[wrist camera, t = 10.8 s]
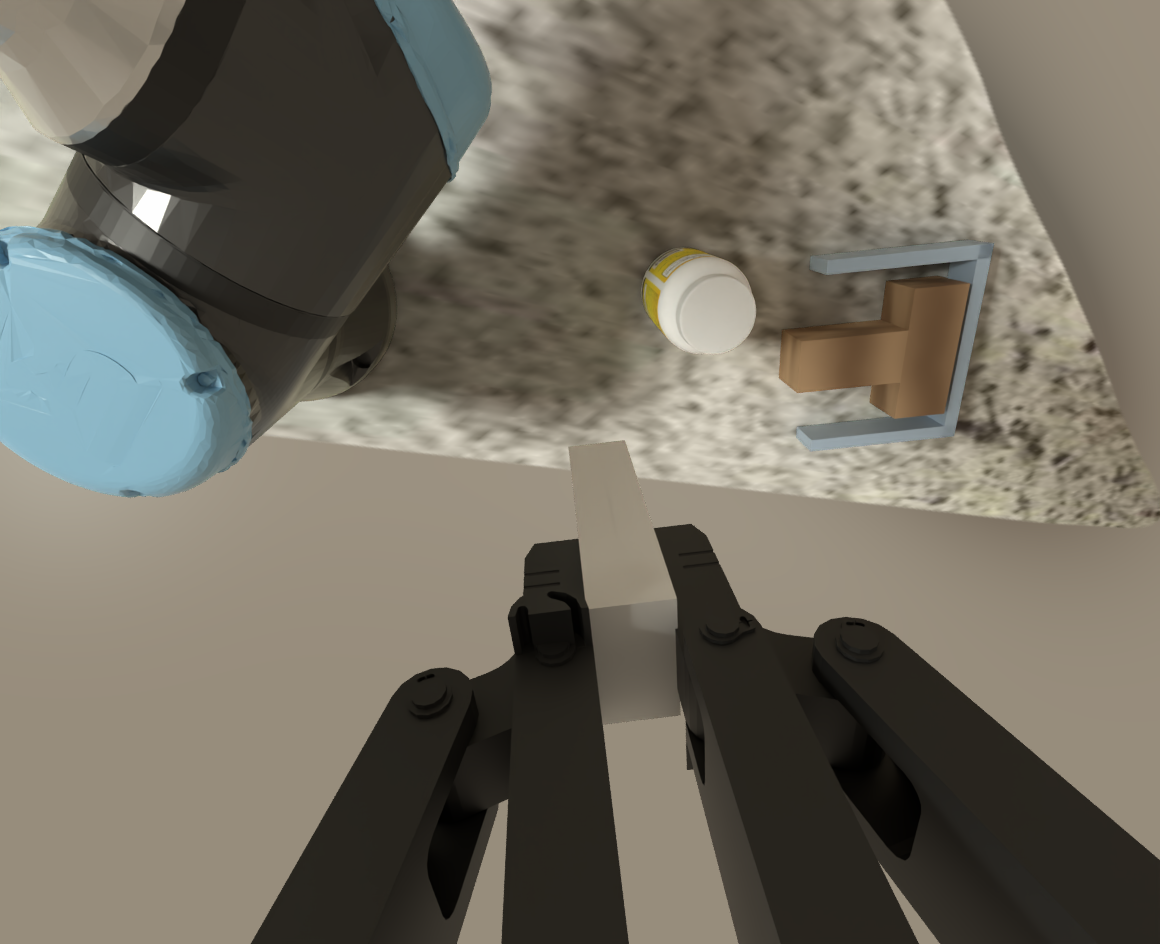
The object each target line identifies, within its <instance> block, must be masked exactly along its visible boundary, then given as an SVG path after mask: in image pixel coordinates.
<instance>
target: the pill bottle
mask: <svg viewBox="0 0 1160 944" xmlns="http://www.w3.org/2000/svg"><path fill="white" fill-rule="evenodd" d="M641 298H642V303H643V306H644V309H645V311H646V313H647V314H648V316H649V317H650V319H651V320H652V321H653V322H654V323H655V325H656V326H657V327H658V328H659V329H660V330H661V332H662V333H663V334H664V335H665V336H666V337H667V339H668V340H669V341H670V342H671V343H673V344H674V345H675V346H676V347H678V348H680V349H681V350H684V351H686V352H689V353H693V354H710V355H717V354H723V353H726V352H729V351H731V350H733V349H735V348H736V347H738V346H739V345H740V344H741V343H742V342H743V341H744V340H745V339H746V338H747V337H748V335H749V334H750V332H751V330H752V328H753V325H754V322H755V318H756V304H755V300H754V297H753V295H752V291H751V288H750V285H749V282H748V280H747V278H746V277H745V275H744V274H743V273H742V272H741V271H740V270H739V269H738V268H737V267H736V266H735V265H734V264H732V263H730V262H729V261H727V260H724V259H721V258H719V257H716V256H713V255H710V254H708V253H705V252H703V251H700V250H697V249H693V248H685V247H683V248H675V249H672V250H669V251H667V252H665V253H663V254H662V255H660V256H659V257H658V258H657V259H655V260H654V261H653V263H652V264H651V265H650V266H649V268H648V269H647V271H646V273H645V276H644V278H643V282H642V287H641Z"/></svg>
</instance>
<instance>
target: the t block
mask: <svg viewBox="0 0 1160 944" xmlns="http://www.w3.org/2000/svg"><path fill="white" fill-rule="evenodd" d="M969 287H970V283H967V282H962V281H958V280H953V279H949V278H945V277H940V276H929V277H920V278H910V279H900V280H890V281H886V286H885V293H884V300H883V308H882V315H881V320H873V321H863V322H853V323H843V324H833V325H824V326H814V327H804V328H794V329H784V330H782V337H781V352H780V368H779V378H780V379H781V380H782V381H783V382H784V383H786V384H787V385H788V386H789V387H791V388H792V389H793V390H794V391H796V392H797V393H803V392H813V391H822V390H832V389H842V388H851V387H861V386H871V385H872V387H871V395H870V403H871V404H873V405H874V406H876V407H877V408H879V409H880V410H882V411H883V412H885V413H886V414H888V415H889V416H891V417H892V418H894V419H897V418H907V417H916V416H926V415H936V414H944V412H945V407H946V402H947V397H948V392H949V387H950V382H951V377H952V372H953V367H954V362H955V357H956V352H957V347H958V342H959V337H960V332H961V327H962V322H963V317H964V312H965V307H966V302H967V297H968V292H969Z"/></svg>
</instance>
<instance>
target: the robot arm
mask: <svg viewBox="0 0 1160 944" xmlns="http://www.w3.org/2000/svg"><path fill="white" fill-rule="evenodd" d="M0 78H1V79H2V81H3V82H4V84H5V85H6V87H7V88H8V90H9V91H10V93H11V94H12V96H13V98H14V99H15V101H16V102H17V104H18V105H19V107H20V108H21V110H22V111H23V113H24V114H25V116H26V117H27V119H28V121H29V122H30V124H31V125H32V127H33V128H34V129H35V130H37V131H38V132H39V133H41V134H43V135H44V136H46V137H48V138H50V139H51V140H53V141H55V142H57V143H60V144H62V145H64V146H66V147H69V148H71V149H73V150H75V151H76V153H75V155H74V157H73V160H72V162H71V164H70V166H69V168H68V170H67V172H66V174H65V176H64V178H63V180H62V182H61V184H60V186H59V188H58V190H57V192H56V194H55V196H54V198H53V200H52V202H51V204H50V207H49V209H48V211H47V213H46V215H45V217H44V218H43V220H42V221H41V223H40V224H39V225H38V226H37V227H30V226H19V227H7V228H4V229H2V230H0V442H1V443H3V444H4V445H5V446H7V447H8V448H9V449H11V450H12V451H13V452H15V453H16V454H17V455H19V456H21V457H22V458H23V459H25V460H26V461H28V462H30V463H31V464H33V465H34V466H36V467H38V468H40V469H41V470H43V471H45V472H47V473H49V474H51V475H53V476H55V477H57V478H60V479H62V480H64V481H66V482H69V483H71V484H74V485H77V486H80V487H83V488H86V489H89V490H92V491H95V492H100V493H103V494H109V495H115V496H122V497H137V496H145V497H146V496H153V497H164V496H169V495H174V494H177V493H181V492H184V491H187V490H189V489H192V488H194V487H196V486H198V485H200V484H202V483H203V482H205V481H206V480H208V479H209V478H211V477H212V476H213V475H215V474H216V473H219V472H224V471H226V470H228V469H229V468H230V466H232V465H235V464H236V463H237V462H238V461H239V460H240V459H241V458H242V457H243V455H244V454H245V452H246V450H247V448H248V447H249V446H250V445H251V444H252V443H253V442H255V441H256V440H257V439H258V438H259V437H260V436H261V435H263V434H264V433H265V432H266V431H267V430H268V429H269V428H270V427H272V426H273V425H274V424H275V423H276V422H277V421H278V420H279V419H281V418H282V417H283V416H284V415H285V414H286V413H287V412H288V411H290V410H291V409H292V408H293V407H294V406H295V405H296V404H298V403H299V402H302V401H314V400H320V399H325V398H328V397H332V396H335V395H337V394H340V393H342V392H344V391H346V390H348V389H350V388H351V387H353V386H355V385H356V384H357V383H359V382H360V381H361V380H362V379H364V378H365V377H366V376H367V375H368V374H369V373H370V372H371V371H372V369H373V368H374V367H375V366H376V365H377V364H378V363H379V362H380V360H381V359H382V357H383V356H384V354H385V352H386V351H387V349H388V347H389V344H390V342H391V339H392V336H393V333H394V329H395V324H396V313H397V304H396V293H395V288H394V283H393V280H392V276H391V273H390V270H389V268H388V263H389V262H390V260H391V259H392V258H393V256H394V255H395V254H396V252H397V251H398V249H399V248H400V247H401V245H402V244H403V242H404V241H405V240H406V238H407V237H408V235H409V234H410V233H411V231H412V230H413V228H414V227H415V226H416V224H417V223H418V222H419V220H420V219H421V217H422V216H423V215H424V213H425V212H426V210H427V209H428V208H429V206H430V205H431V203H432V202H433V201H434V199H435V198H436V196H437V195H438V194H439V192H440V191H441V190H442V188H443V187H444V185H445V184H446V183H448V182H451V181H452V180H453V179H454V178H455V177H456V172H457V171H458V169H459V161H460V160H461V158H462V157H463V155H464V154H465V152H466V150H467V149H468V147H469V146H470V144H471V143H472V141H473V139H474V138H475V136H476V135H477V133H478V132H479V130H480V129H481V127H482V125H483V124H484V122H485V121H486V119H487V116H488V113H489V110H490V105H491V93H492V83H491V77H490V73H489V70H488V66H487V63H486V61H485V58H484V56H483V54H482V51H481V49H480V47H479V45H478V43H477V41H476V40H475V38H474V36H473V34H472V32H471V30H470V29H469V27H468V25H467V24H466V22H465V20H464V18H463V17H462V15H461V14H460V12H459V10H458V9H457V7H456V6H455V4H454V2H453V1H452V0H0ZM569 456H570V465H571V473H572V483H573V492H574V502H575V511H576V519H577V529H578V538H579V539H572V540H564V541H556V542H548V543H539V544H534V546H533V547H532V548H531V550H530V551H529V553H528V554H527V556H526V558H525V567H524V592H523V596H522V597H520V598H519V599H518V600H517V601H516V602H515V603H514V604H513V606H511V609H510V612H509V615H508V621H509V627H510V632H511V636H512V641H513V646H514V652H515V654H514V655H513V656H512V657H511V658H510V659H509V660H508V661H507V662H506V663H504V664H503V665H502V666H500V667H499V668H497V669H495V670H493V671H491V672H488V673H486V674H484V675H481V676H478V677H476V678H473V679H470V680H469V678H468V677H467V676H466V675H464V674H463V673H462V672H461V671H459V670H455V669H451V668H435V669H429V670H427V671H424V672H422V673H419V674H416V675H414V676H413V677H412V678H410V679H409V680H407V681H406V682H404V683H403V684H402V685H401V686H400V687H399V688H398V690H397V691H396V692H395V693H394V695H393V696H392V697H391V699H390V701H389V703H388V705H387V707H386V708H385V710H384V712H383V713H382V715H381V717H380V718H379V720H378V722H377V724H376V725H375V727H374V729H373V731H372V733H371V734H370V736H369V738H368V740H367V741H366V743H365V745H364V747H363V748H362V750H361V752H360V754H359V755H358V757H357V759H356V761H355V762H354V764H353V766H352V768H351V769H350V771H349V773H348V775H347V776H346V778H345V780H344V782H343V783H342V785H341V787H340V789H339V790H338V792H337V794H336V796H335V797H334V799H333V801H332V803H331V804H330V806H329V808H328V810H327V811H326V813H325V815H324V817H323V818H322V820H321V822H320V824H319V826H318V827H317V829H316V831H315V833H314V834H313V836H312V838H311V839H310V841H309V843H308V845H307V846H306V848H305V850H304V852H303V853H302V855H301V857H300V859H299V860H298V862H297V864H296V866H295V867H294V869H293V871H292V873H291V874H290V876H289V878H288V880H287V881H286V883H285V885H284V887H283V888H282V890H281V892H280V894H279V895H278V897H277V899H276V901H275V902H274V904H273V906H272V908H271V909H270V911H269V913H268V915H267V917H266V918H265V920H264V922H263V923H262V925H261V927H260V929H259V930H258V932H257V934H256V936H255V938H254V939H253V941H252V943H251V944H457V941H458V938H459V935H460V931H461V928H462V925H463V921H464V918H465V915H466V912H467V908H468V905H469V902H470V899H471V895H472V892H473V889H474V886H475V882H476V879H477V876H478V873H479V869H480V866H481V863H482V860H483V856H484V853H485V850H486V846H487V843H488V840H489V837H490V834H491V830H492V827H493V824H494V821H495V817H496V814H497V811H498V804H499V803H500V802H502V801H504V800H507V799H508V818H507V839H506V840H507V841H506V860H505V881H504V903H503V924H502V944H629V941H628V933H627V925H626V916H625V908H624V900H623V891H622V883H621V876H620V875H621V874H620V866H619V858H618V850H617V841H616V833H615V825H614V817H613V808H612V799H611V791H610V782H609V774H608V766H607V757H606V749H605V742H604V732H603V724H612V723H620V722H629V721H636V720H645V719H654V718H662V717H669V716H678V715H680V701H681V705H682V708H683V712H684V716H685V719H686V752H687V770H691V769H694V773H695V777H696V781H697V785H698V788H699V792H700V796H701V800H702V804H703V808H704V811H705V816H706V819H707V823H708V827H709V831H710V835H711V839H712V842H713V846H714V850H715V854H716V858H717V862H718V866H719V870H720V873H721V877H722V881H723V885H724V889H725V893H726V896H727V900H728V904H729V908H730V912H731V916H732V920H733V924H734V927H735V931H736V935H737V939H738V943H739V944H919V943H918V941H917V939H916V937H915V935H914V933H913V931H912V929H911V927H910V925H909V923H908V921H907V919H906V917H905V915H904V913H903V911H902V909H901V907H900V905H899V903H898V901H897V899H896V897H895V895H894V893H893V891H892V889H891V887H890V885H889V883H888V880H887V879H886V876H885V874H884V872H883V871H882V868H881V866H880V864H881V865H882V867H883V868H884V869H885V871H886V872H887V873H888V875H889V876H890V877H891V879H892V880H893V881H894V883H895V884H896V885H897V887H898V888H899V889H900V891H901V892H902V893H903V895H904V896H905V897H906V899H907V900H908V901H909V903H910V904H911V905H912V907H913V908H914V909H915V911H916V912H917V913H918V915H919V916H920V917H921V919H922V920H923V921H924V923H925V924H926V925H927V927H928V928H929V929H930V931H931V932H932V933H933V935H934V936H935V937H936V939H937V940H938V941H939V943H940V944H1160V860H1159V859H1158V858H1157V857H1155V856H1154V855H1153V854H1152V853H1151V852H1150V851H1148V850H1147V849H1146V848H1145V847H1144V846H1143V845H1141V844H1140V843H1139V842H1138V841H1137V840H1135V839H1134V838H1133V837H1132V836H1131V835H1129V834H1128V833H1127V832H1126V831H1125V830H1124V829H1122V828H1121V827H1120V826H1119V825H1118V824H1117V823H1115V822H1114V821H1113V820H1112V819H1111V818H1110V817H1108V816H1107V815H1106V814H1105V813H1104V812H1103V811H1101V810H1100V809H1099V808H1098V807H1097V806H1095V805H1094V804H1093V803H1092V802H1091V801H1090V800H1088V799H1087V798H1086V797H1085V796H1084V795H1083V794H1081V793H1080V792H1079V791H1078V790H1077V789H1075V788H1074V787H1073V786H1072V785H1071V784H1070V783H1068V782H1067V781H1066V780H1065V779H1064V778H1063V777H1061V776H1060V775H1059V774H1058V773H1057V772H1055V771H1054V770H1053V769H1052V768H1051V767H1050V766H1048V765H1047V764H1046V763H1045V762H1044V761H1042V760H1041V759H1040V758H1039V757H1038V756H1037V755H1035V754H1034V753H1033V752H1032V751H1031V750H1030V749H1028V748H1027V747H1026V746H1025V745H1024V744H1023V743H1021V742H1020V741H1019V740H1018V739H1017V738H1015V737H1014V736H1013V735H1012V734H1011V733H1010V732H1008V731H1007V730H1006V729H1005V728H1004V727H1003V726H1001V725H1000V724H999V723H998V722H997V721H995V720H994V719H993V718H992V717H991V716H990V715H988V714H987V713H986V712H985V711H984V710H982V709H981V708H980V707H979V706H978V705H977V704H975V703H974V702H973V701H972V700H971V699H970V698H968V697H967V696H966V695H965V694H964V693H963V692H961V691H960V690H959V689H958V688H957V687H955V686H954V685H953V684H952V683H951V682H950V681H948V680H947V679H946V678H945V677H944V676H943V675H941V674H940V673H939V672H938V671H937V670H935V669H934V668H933V667H932V666H931V665H930V664H928V663H927V662H926V661H925V660H924V659H922V658H921V657H920V656H919V655H918V654H917V653H915V652H914V651H913V650H912V649H911V648H910V647H908V646H907V645H906V644H905V643H904V642H902V641H901V640H900V639H899V638H898V637H896V636H895V635H894V634H893V633H891V632H890V631H888V630H887V629H885V628H884V627H882V626H880V625H879V624H876V623H873V622H870V621H867V620H864V619H859V618H849V617H842V618H836V619H830V620H829V621H827V622H825V623H823V624H821V625H820V626H819V627H818V629H817V630H816V632H815V634H814V638H810V637H801V636H793V635H786V634H780V633H775V632H772V631H770V630H767V629H764V628H762V626H761V624H760V623H759V622H758V621H757V620H756V618H755V617H754V616H753V615H751V614H750V613H748V612H746V611H745V610H743V609H741V608H740V606H739V604H738V602H737V599H736V597H735V595H734V593H733V591H732V589H731V587H730V585H729V582H728V580H727V578H726V576H725V574H724V572H723V570H722V568H721V566H720V565H719V561H718V559H717V557H716V555H715V553H713V549H712V546H711V544H710V542H709V540H708V538H707V536H706V535H705V534H704V533H703V532H701V531H700V530H698V529H697V528H696V527H695V526H693V525H692V524H686V525H677V526H669V527H660V528H653V525H652V522H651V519H650V515H649V512H648V509H647V506H646V503H645V501H644V497H643V494H642V491H641V488H640V485H639V482H638V479H637V476H636V473H635V470H634V467H633V464H632V461H631V458H630V455H629V452H628V449H627V446H626V443H625V440H623V441H614V442H606V443H597V444H588V445H580V446H571V447H569ZM878 861H879V862H878ZM879 863H880V864H879Z"/></svg>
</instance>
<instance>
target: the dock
mask: <svg viewBox="0 0 1160 944" xmlns="http://www.w3.org/2000/svg"><path fill="white" fill-rule="evenodd" d="M993 246H994V243H989V242H981V241H973V240H960V241H950V242H940V243H931V244H921V245H911V246H902V247H892V248H882V249H873V250H863V251H853V252H844V253H834V254H824V255H815V256H811V258H810V270H812V271H815V272H819V273H822V274H825V275H831V274H841V273H850V272H860V271H870V270H879V269H889V268H899V267H908V266H918V265H928V264H937V263H947V262H950V266H949V272H948V277H947V278H949V279H953V280H958V281H962V282H967V283H970V287H969V292H968V297H967V302H966V307H965V312H964V317H963V322H962V327H961V332H960V337H959V342H958V347H957V352H956V357H955V362H954V367H953V372H952V377H951V382H950V387H949V392H948V397H947V402H946V407H945V412H944V414H936V415H926V416H916V417H907V418H897V419H894V418H892V417H885V418H876V419H866V420H857V421H847V422H838V423H829V424H819V425H810V426H800V427H797V436H796V438H797V439H798V440H799V441H800V442H801V443H802V444H803V445H804V446H805V447H806V448H807V449H808V450H809V451H819V450H828V449H838V448H847V447H857V446H866V445H875V444H885V443H894V442H904V441H913V440H923V439H932V438H941V437H951V436H954V434H955V429H956V424H957V419H958V415H959V410H960V405H961V400H962V395H963V391H964V386H965V381H966V376H967V371H968V367H969V362H970V357H971V352H972V347H973V343H974V338H975V333H976V328H977V323H978V319H979V314H980V309H981V304H982V299H983V294H984V290H985V285H986V280H987V275H988V270H989V266H990V261H991V256H992V251H993Z"/></svg>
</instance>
